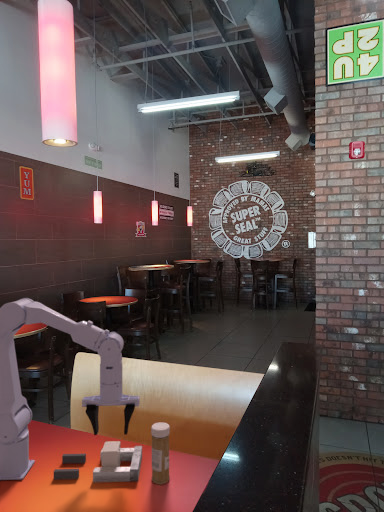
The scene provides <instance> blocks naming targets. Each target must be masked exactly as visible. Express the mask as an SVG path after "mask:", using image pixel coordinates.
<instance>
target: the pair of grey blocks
mask: <svg viewBox="0 0 384 512" xmlns="http://www.w3.org/2000/svg"><path fill="white" fill-rule="evenodd" d="M61 456H62V457H61V458H62V459H61V462H62V465H63V464H86V462H87V453H63V454H62V455H61ZM79 478H80V468H55V469H54V470H53V480H56V481H57V480H78V479H79Z"/></svg>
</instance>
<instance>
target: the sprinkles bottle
mask: <svg viewBox="0 0 384 512" xmlns="http://www.w3.org/2000/svg"><path fill="white" fill-rule="evenodd" d="M170 427H171V426H170V424H168V423H167V422H159V421H158V422H155V423H153V424H152V425H151V428H150V431H151V432H150V434H151V481H152V482H153V483H154V484H156V485H164V484H167V483H168V482H169V481H170V479H171V477H170V434H171V433H170V431H171V429H170Z"/></svg>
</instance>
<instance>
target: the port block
mask: <svg viewBox="0 0 384 512" xmlns="http://www.w3.org/2000/svg"><path fill="white" fill-rule="evenodd" d="M102 449H103V448H101V451H100V453H99V454H100V455H99V457H100V461H99V462H101V463H102ZM142 460H143V446H142V445H135V446H134V447H120V462H130V466H120V467H102V466H101V467H94V469H93V471H92V483H113V482H114V483H119V482H121V483H123V482H125V483H126V482H139V478H140V472H141V466H142Z"/></svg>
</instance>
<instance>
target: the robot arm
mask: <svg viewBox="0 0 384 512" xmlns="http://www.w3.org/2000/svg"><path fill="white" fill-rule="evenodd" d="M33 324H43V325H46V326H49V327H52V328H53V329H57V330H58V331H60V332H63V333H66V334H69V335H70V337H71V339H72V342H74V343H76V344H79V345H80V346H83V347H85V348H87V349H88V350H91V351H93V352H97V355H98V356H99V357H100V359H99V360H100V362H99V394H97V395H91V396H84V397H83V398H82V399H81V408H86V409H85V414H86V416H87V417H88V419H89V422H90V423H91V427H92V431H93V435H94V436H98V433H99V429H100V428H99V427H100V426H99V408H100V406H101V407H103V406H104V407H111V406H112V407H113V406H125V407H124V409H123V415H124V417H123V418H124V427H123V429H124V430H123V433H124V435H125V436H126V435H128V432H129V424H130V421H131V418H132V416H133V413H134V411H135V408H136V407H139V406H140V402H141V401H140V400H141V399H140V395H132V394H131V395H130V394H123V355H122V350H123V349H124V346H125V344H124V343H125V342H124V339H123V337H122V336H121V335H120V334H119V333H117V332H116V331H111V332H110V330H108V329H105V330H104V329H103V328H100V327H98V326H97V325H94V322H93V321H91V320H88V321H86V320H82V321H79V322H76V321H74V320H73V319H71V318H69V317H68V316H65V315H63V314H61V313H60V312H57V311H56V310H53V309H52V308H50V307H48V306H46V305H45V304H43V303H42V302H39V301H34V300H33V299H31V298H29V297H23V298H20V299H18V300H16V301H11V302H7V303H4V304H2V306H1V307H0V481H7V480H8V481H9V480H11V481H12V480H13V481H14V480H18V481H19V480H24V478H25V477H26V475H27V474H28V472H29V471H30V470H31V468H32V467H33V465H34V464H35V459H30V456H29V455H30V453H29V452H30V451H29V449H30V447H29V445H30V444H29V443H30V440H29V438H30V437H29V435H30V434H29V432H30V431H29V428H28V427H29V426H28V425H29V424H30V423H31V422H32V419H33V411H32V409H31V408H30V407H29V404H28V400H27V398H26V397H25V396H23V394H22V387H21V381H20V375H19V369H18V361H17V353H16V347H15V346H16V345H15V340H14V336H15V335H16V334H17V333H18V332H19V330H21V328H22V327H23V326H24V325H26V326H27V325H33Z"/></svg>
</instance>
